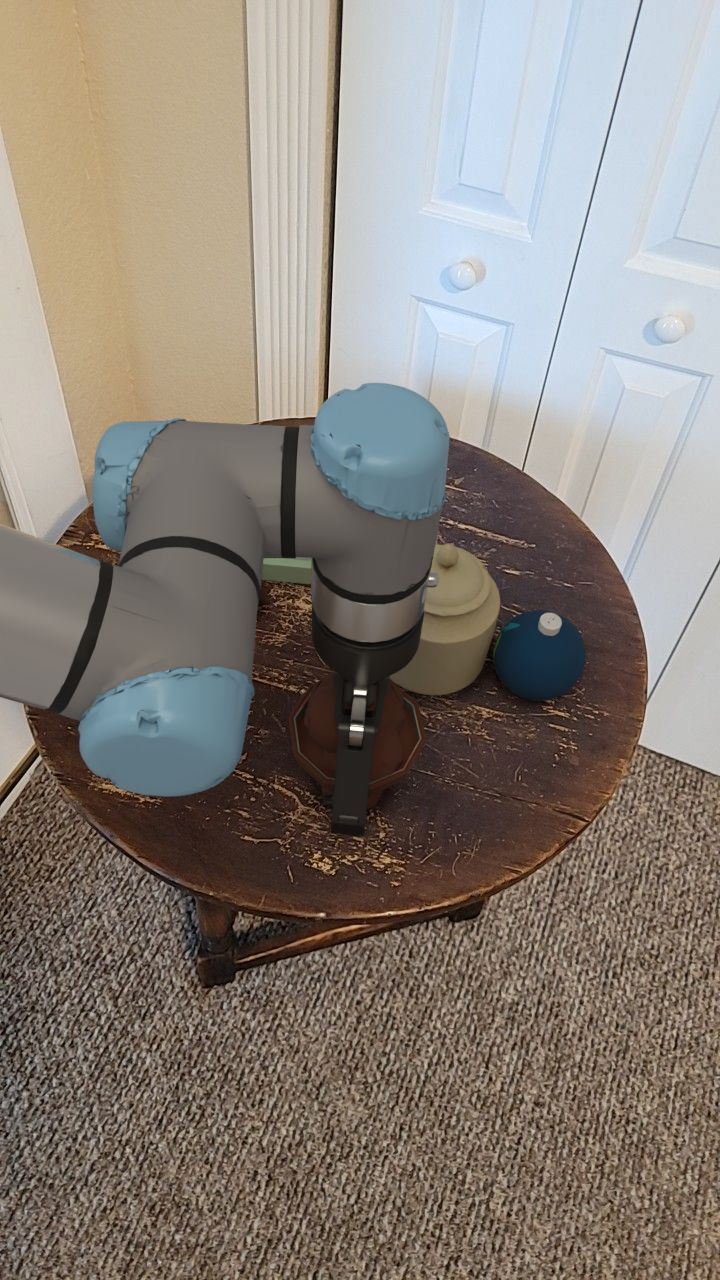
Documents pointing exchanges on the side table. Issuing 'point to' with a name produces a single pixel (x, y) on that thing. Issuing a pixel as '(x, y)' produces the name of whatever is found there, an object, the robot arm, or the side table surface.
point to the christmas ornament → (539, 655)
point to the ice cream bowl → (390, 747)
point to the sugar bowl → (453, 625)
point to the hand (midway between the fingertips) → (353, 768)
